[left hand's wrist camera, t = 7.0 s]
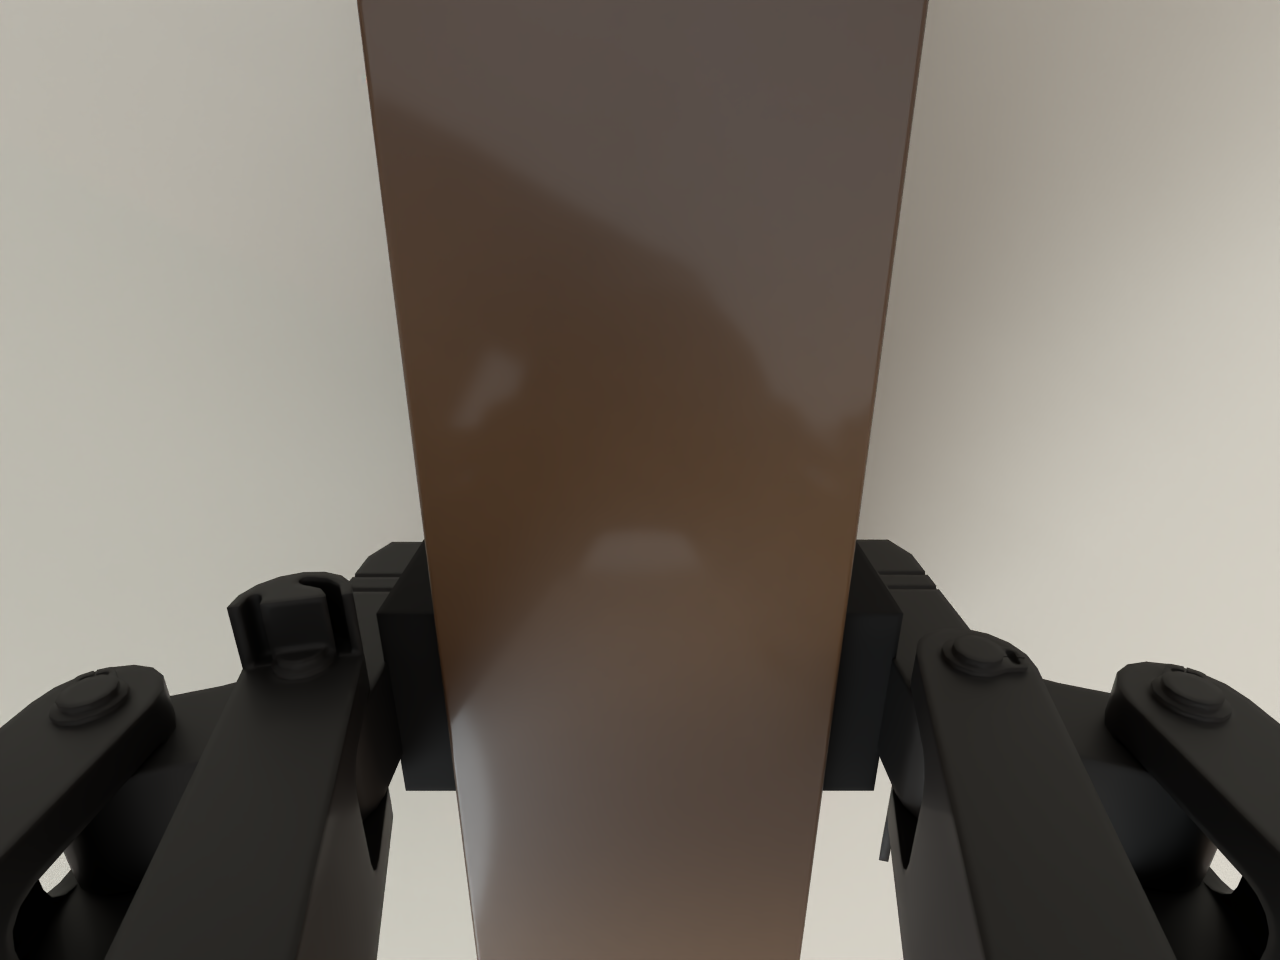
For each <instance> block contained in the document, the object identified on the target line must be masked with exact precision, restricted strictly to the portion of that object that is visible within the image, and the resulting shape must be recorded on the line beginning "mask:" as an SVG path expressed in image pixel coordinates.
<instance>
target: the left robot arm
mask: <svg viewBox="0 0 1280 960" xmlns="http://www.w3.org/2000/svg"><path fill="white" fill-rule="evenodd" d="M227 610H228V614H229V618H230V622H231V626H232V629H233V633H234V637H235V641H236V645H237V648H238V652H239V656H240V660H241V664H242V667H243V670H242V672H241V674H240V676H239V678H238V680H237V682H235V683H231V684H228V685H224V686H219V687H214V688H209V689H204V690H199V691H194V692H189V693H184V694H179V695H174V696H170V695H169V692H168V689H167V686H166V683H165V680H164V676H163V675H162V674H161V673H159V672H158V671H157V670H155V669H154V668H152V667H145V666H138V665H129V666H119V667H108V668H104V669H99V670H97V671H96V672H94V671H91V672H88V673H85V674H82V675H80V676H77V677H76V678H75V679H73V680H70V681H68V682H66V683H64V684H61V685H59V686H57V687H55V688H53V689H52V690H50V691H49V692H47V693H46V694H44V695H42V696H41V697H39V698H38V699H36V700H35V701H33V702H32V703H31V704H29V705H28V706H27V707H26V708H24V709H23V710H22V711H21V712H19V713H18V714H17V715H16V716H14V717H13V718H12V719H11V720H10V721H8V722H7V723H6V724H5V725H3V726H2V727H1V728H0V960H377V951H378V943H379V934H380V926H381V917H382V908H383V900H384V891H385V882H386V874H387V865H388V856H389V848H390V839H391V830H392V822H393V812H392V806H391V800H390V794H389V788H388V786H389V784H390V782H391V780H392V777H393V775H394V773H395V770H396V768H397V766H398V763H399V761H400V759H401V764H402V770H403V776H404V782H405V788H406V791H456V786H455V778H454V770H453V762H452V754H451V746H450V738H449V730H448V722H447V714H446V706H445V698H444V690H443V682H442V675H441V667H440V659H439V651H438V643H437V635H436V627H435V619H434V611H433V603H432V595H431V587H430V579H429V571H428V563H427V555H426V547H425V539H424V540H423V542H391V543H390V544H388V545H387V546H385V547H383V548H382V549H380V550H378V551H377V552H375V553H374V554H372V555H370V556H369V557H368V558H367V559H366V560H365V562H364V563H363V564H362V566H361V567H360V568H359V570H358V571H357V572H356V573H355V577H352V579H351V580H350V581H348V580H347V579H345V578H344V577H343V576H341V575H337V574H332V573H327V572H302V573H297V574H292V575H286V576H281V577H278V578H275V579H272V580H269V581H266V582H264V583H261V584H258V585H256V586H254V587H253V588H251V589H249V590H247V591H246V592H244V593H242V594H240V595H239V596H238V597H237V598H236V599H235V600H234V601H233V602H232V603H231V604H230V605H229V606H228V607H227ZM879 756H880V758H881V761H882V763H883V765H884V768H885V770H886V772H887V775H888V777H889V779H890V781H891V784H892V788H891V794H890V800H889V805H888V811H887V816H886V822H885V827H884V833H883V838H882V844H881V850H880V857H879V860H882V861H887V862H888V860H889V855H890V850H891V855H892V863H893V872H894V881H895V889H896V898H897V906H898V915H899V924H900V932H901V941H902V950H903V958H904V960H1280V724H1279V723H1278V722H1277V721H1276V720H1274V719H1273V718H1272V717H1271V716H1269V715H1268V714H1267V713H1266V712H1264V711H1263V710H1262V709H1261V708H1259V707H1258V706H1257V705H1256V704H1254V703H1253V702H1252V701H1251V700H1249V699H1248V698H1246V697H1245V696H1243V695H1242V694H1240V693H1239V692H1237V691H1236V690H1234V689H1233V688H1231V687H1230V686H1228V685H1226V684H1224V683H1222V682H1220V681H1218V680H1215V679H1213V678H1211V677H1209V676H1206V675H1205V674H1204V673H1202V672H1199V671H1196V670H1193V669H1190V668H1187V669H1186V668H1184V667H1183V666H1178V665H1173V664H1163V663H1153V662H1141V663H1134V664H1128V665H1126V666H1125V667H1124V668H1122V669H1121V670H1120V671H1118V672H1117V675H1116V678H1115V681H1114V684H1113V687H1112V691H1111V693H1107V692H1102V691H1097V690H1091V689H1086V688H1081V687H1076V686H1071V685H1066V684H1061V683H1056V682H1052V681H1049V680H1045V679H1042V677H1041V675H1040V673H1039V671H1038V668H1037V667H1036V666H1035V665H1034V663H1033V662H1032V661H1031V660H1030V658H1029V657H1028V656H1027V655H1026V654H1025V653H1023V652H1022V651H1021V650H1019V649H1018V648H1016V647H1015V646H1013V645H1012V644H1010V643H1009V642H1006V641H1004V640H1002V639H999V638H997V637H994V636H992V635H989V634H987V633H982V632H978V631H973V630H970V629H969V627H968V626H967V625H966V624H965V622H964V621H963V620H962V618H961V617H960V616H959V615H958V613H957V612H956V611H955V609H954V608H953V607H952V606H951V604H950V603H949V602H948V600H947V599H946V598H945V597H944V595H943V594H942V593H941V591H940V590H939V589H936V585H935V584H934V582H933V581H932V580H931V579H930V577H929V576H928V575H925V571H924V570H923V568H922V567H921V566H920V565H919V563H918V562H917V561H916V559H915V558H914V557H913V556H912V554H910V553H909V552H907V551H905V550H904V549H902V548H900V547H899V546H897V545H896V544H894V543H892V542H891V541H889V540H856V545H855V552H854V560H853V567H852V575H851V582H850V590H849V597H848V605H847V612H846V619H845V627H844V634H843V642H842V649H841V657H840V664H839V672H838V679H837V686H836V694H835V701H834V709H833V716H832V724H831V731H830V739H829V746H828V753H827V761H826V768H825V776H824V783H823V791H874V786H875V780H876V774H877V768H878V762H879ZM1217 848H1218V849H1219V850H1220V852H1221V853H1222V854H1223V855H1224V856H1225V857H1226V858H1227V859H1228V860H1229V861H1230V863H1231V864H1232V865H1233V866H1234V867H1235V868H1236V869H1237V870H1238V871H1239V873H1240V874H1241V875H1242V878H1241V880H1240V882H1239V884H1238V887H1237V888H1236V889H1235V890H1232V889H1230V888H1229V887H1228V886H1227V885H1226V884H1225V883H1224V882H1223V881H1222V880H1221V879H1220V878H1219V877H1218V876H1217V875H1216V874H1215V872H1214V871H1213V870H1212V869H1211V868H1210V867H1209V866H1210V864H1211V862H1212V860H1213V857H1214V855H1215V853H1216V850H1217ZM63 852H64V854H65V856H66V859H67V861H68V863H69V866H70V868H71V870H70V871H69V873H68V874H67V875H66V876H65V877H64V878H63V879H62V881H61V882H60V883H59V884H58V885H56V886H55V887H54V888H53V889H52V890H50V891H49V892H48V893H46V892H45V891H44V890H43V888H42V886H41V884H40V882H39V878H40V877H41V876H42V875H43V874H44V873H45V872H46V871H47V870H48V868H49V867H50V866H51V865H52V864H53V863H54V862H55V861H56V860H57V858H58V857H59V856H60V855H61V854H62V853H63Z"/></svg>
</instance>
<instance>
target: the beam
mask: <svg viewBox="0 0 1280 960" xmlns="http://www.w3.org/2000/svg"><path fill="white" fill-rule="evenodd" d="M928 2H929V0H357V5H358V13H359V21H360V29H361V37H362V45H363V53H364V61H365V69H366V77H367V85H368V93H369V101H370V109H371V117H372V125H373V133H374V141H375V149H376V157H377V165H378V173H379V181H380V189H381V197H382V205H383V213H384V221H385V228H386V236H387V244H388V252H389V260H390V268H391V276H392V284H393V292H394V300H395V308H396V316H397V324H398V332H399V340H400V348H401V356H402V364H403V372H404V380H405V388H406V396H407V404H408V412H409V420H410V428H411V436H412V444H413V452H414V459H415V467H416V475H417V483H418V491H419V499H420V507H421V515H422V523H423V531H424V539H425V547H426V555H427V563H428V571H429V579H430V587H431V595H432V603H433V611H434V619H435V627H436V635H437V643H438V651H439V659H440V667H441V675H442V682H443V690H444V698H445V706H446V714H447V722H448V730H449V738H450V746H451V754H452V762H453V770H454V778H455V786H456V794H457V802H458V810H459V818H460V826H461V834H462V842H463V850H464V858H465V866H466V874H467V882H468V890H469V898H470V906H471V913H472V921H473V929H474V937H475V945H476V953H477V960H800V954H801V947H802V940H803V932H804V925H805V917H806V910H807V902H808V895H809V887H810V880H811V873H812V865H813V858H814V850H815V843H816V835H817V828H818V820H819V813H820V806H821V798H822V791H823V783H824V776H825V768H826V761H827V753H828V746H829V739H830V731H831V724H832V716H833V709H834V701H835V694H836V686H837V679H838V672H839V664H840V657H841V649H842V642H843V634H844V627H845V619H846V612H847V605H848V597H849V590H850V582H851V575H852V567H853V560H854V552H855V545H856V538H857V530H858V523H859V515H860V508H861V500H862V493H863V485H864V478H865V471H866V463H867V456H868V448H869V441H870V433H871V426H872V418H873V411H874V404H875V396H876V389H877V381H878V374H879V366H880V359H881V351H882V344H883V337H884V329H885V322H886V314H887V307H888V299H889V292H890V284H891V277H892V270H893V262H894V255H895V247H896V240H897V232H898V225H899V217H900V210H901V203H902V195H903V188H904V180H905V173H906V165H907V158H908V150H909V143H910V136H911V128H912V121H913V113H914V106H915V98H916V91H917V84H918V76H919V69H920V61H921V54H922V46H923V39H924V31H925V24H926V17H927V9H928Z"/></svg>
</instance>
